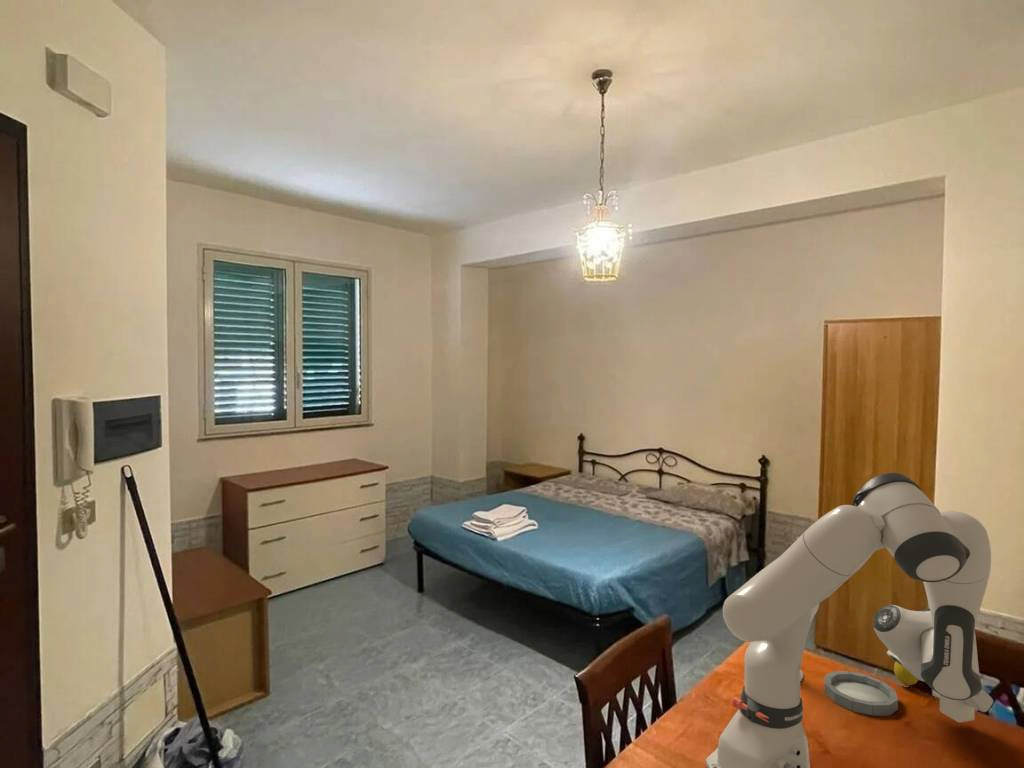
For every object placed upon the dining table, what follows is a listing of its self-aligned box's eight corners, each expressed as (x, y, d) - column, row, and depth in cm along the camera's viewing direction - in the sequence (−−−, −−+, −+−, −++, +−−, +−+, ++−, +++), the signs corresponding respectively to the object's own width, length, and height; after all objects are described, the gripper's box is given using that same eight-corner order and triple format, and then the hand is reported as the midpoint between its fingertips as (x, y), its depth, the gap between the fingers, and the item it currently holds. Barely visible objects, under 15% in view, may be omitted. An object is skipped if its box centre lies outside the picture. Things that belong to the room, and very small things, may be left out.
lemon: (910, 681, 154) (911, 652, 154) (923, 692, 148) (923, 662, 148) (889, 680, 154) (889, 651, 154) (901, 691, 149) (901, 661, 149)
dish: (877, 723, 135) (877, 712, 135) (812, 691, 149) (812, 682, 149) (909, 702, 144) (909, 692, 144) (844, 674, 157) (844, 665, 157)
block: (958, 722, 131) (958, 688, 131) (939, 711, 135) (939, 678, 135) (974, 719, 132) (974, 686, 132) (955, 708, 136) (955, 675, 136)
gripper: (978, 672, 122) (1013, 711, 124) (895, 631, 142) (927, 665, 144) (961, 695, 121) (997, 734, 123) (880, 650, 141) (912, 684, 143)
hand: (959, 696), depth 134 cm, fingers closed on block, 5 cm apart
